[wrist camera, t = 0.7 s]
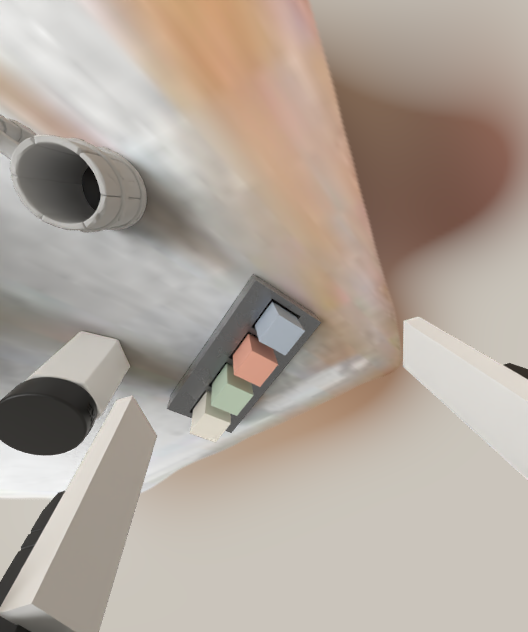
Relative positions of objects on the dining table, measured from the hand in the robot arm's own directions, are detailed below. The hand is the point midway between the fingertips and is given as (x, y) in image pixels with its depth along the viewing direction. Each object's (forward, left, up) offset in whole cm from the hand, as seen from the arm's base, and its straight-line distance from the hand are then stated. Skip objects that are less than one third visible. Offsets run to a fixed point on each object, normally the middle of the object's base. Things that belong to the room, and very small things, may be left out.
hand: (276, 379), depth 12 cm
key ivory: (-6, -20, -21) cm, 29 cm away
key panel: (-1, -13, -23) cm, 27 cm away
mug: (-15, +11, -23) cm, 30 cm away
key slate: (+4, -7, -21) cm, 22 cm away
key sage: (-3, -15, -21) cm, 26 cm away
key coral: (0, -11, -21) cm, 23 cm away
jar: (-21, -11, -23) cm, 33 cm away
